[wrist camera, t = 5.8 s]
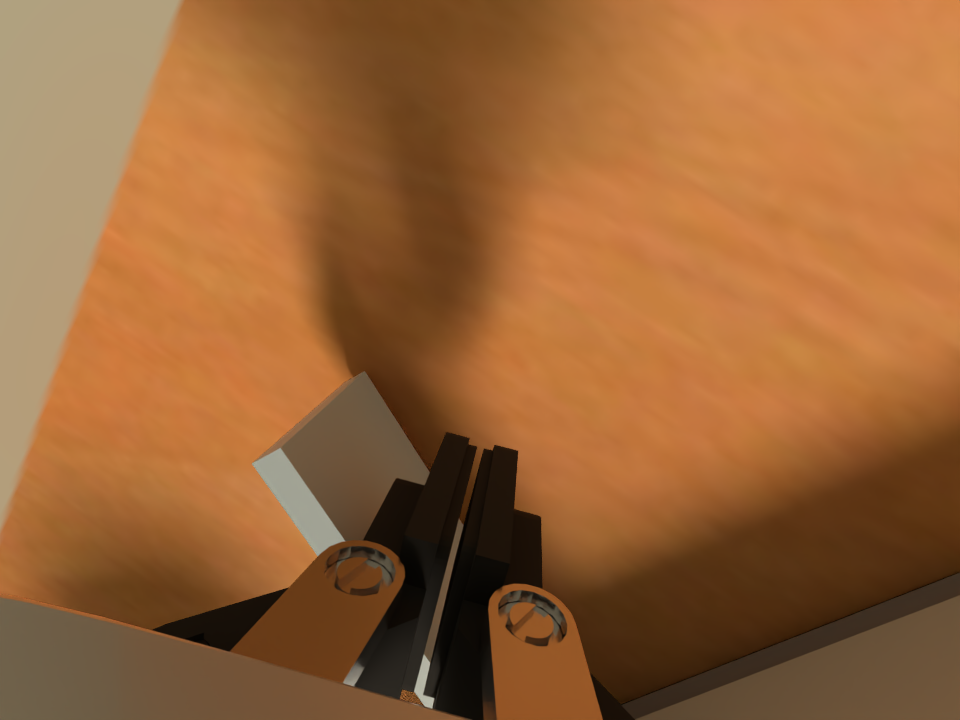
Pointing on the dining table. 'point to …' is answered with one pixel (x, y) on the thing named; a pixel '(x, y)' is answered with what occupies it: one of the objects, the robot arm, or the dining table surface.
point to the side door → (347, 477)
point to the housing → (837, 670)
